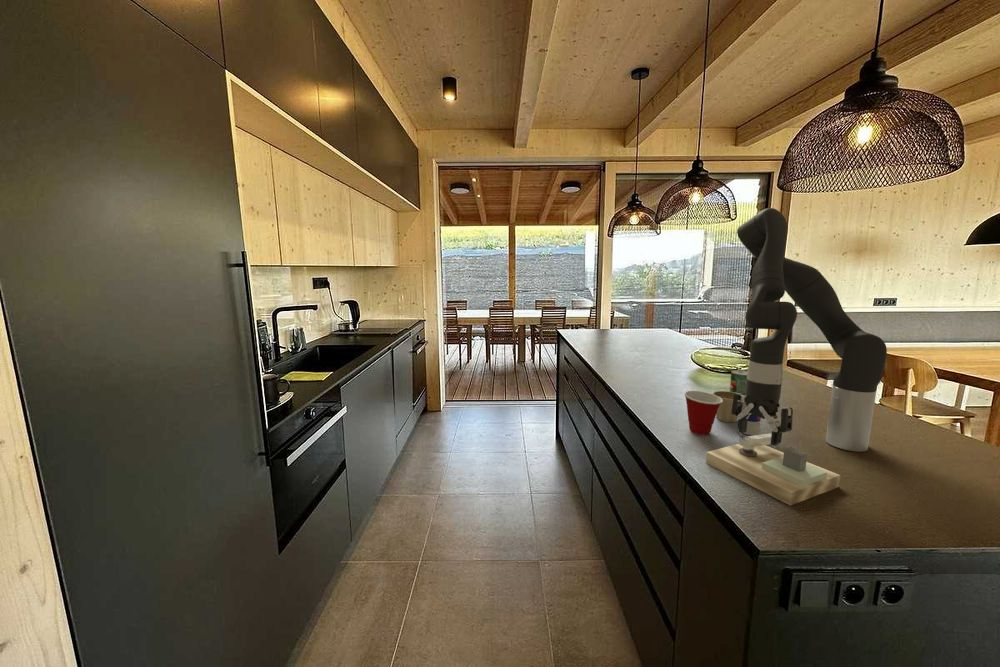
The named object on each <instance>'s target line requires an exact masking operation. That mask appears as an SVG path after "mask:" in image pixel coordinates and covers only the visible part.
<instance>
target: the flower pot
mask: <svg viewBox="0 0 1000 667" xmlns="http://www.w3.org/2000/svg"><path fill="white" fill-rule="evenodd" d="M712 394H714V395H716V396H718V397H720V398H721V399H723V402H722V403H721V404H720V406H719V408H718V410H717V413H716V416H715V419H718V420H719V421H721V422H726V423H736V422H738V417H737V416H736V415H733V414H732V413H731V412H732V405H733V398H734V395H735V394H738V393H735V392H730V390H729V391H727V390H717V391H713V392H712Z"/></svg>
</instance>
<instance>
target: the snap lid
mask: <svg viewBox="0 0 1000 667" xmlns="http://www.w3.org/2000/svg"><path fill="white" fill-rule="evenodd" d="M783 453H784V456H782V457H779V458H776V459H773V460H769V461H766V462H763V463H762V469H764V470H766V471H768V472H770V473H773V474H775V475H777V476H779V477H781V478H784V479H786V480H788V481H790V482H792V483H795V484H797V485H799V486H801V487H803V486H806V485H809V484H812V483H815V482H817V481H820V480H823V479H826V478H827V472H825V471H823V470H820V469H818V468H816V467H813V466H811V465H808V464H806V462H807V459H808V453H807V452H804V451H802V450H799V449H797V448H793V447H787V448H784V450H783Z"/></svg>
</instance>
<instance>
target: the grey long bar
mask: <svg viewBox="0 0 1000 667" xmlns="http://www.w3.org/2000/svg"><path fill="white" fill-rule="evenodd" d="M771 435H772V432H770V433H763V434H762V433H760V434H759V435H754V436H747V437H743V436H741V437H739V442H738V444H739V445H741V446H743V451H745V452H748V453H753V452H754V447H755V446H762V445H766V446H768V445H771Z"/></svg>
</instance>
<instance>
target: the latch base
mask: <svg viewBox="0 0 1000 667" xmlns="http://www.w3.org/2000/svg"><path fill="white" fill-rule="evenodd" d="M782 456H784V451H780V450H779V449H776V448H773V447H771V446H768V445H762V446H755V447H754V452H753V453H748V452H745V451H743V446H741V445H739V443H736V444H733V445H728V446H725V447H721V448H716V449H713V450H710V451H706V456H705V463H706V464H708V465H710V466H712V467H713V468H715V469H718V470H719V471H721V472H724V473H725V474H727V475H730V476H732V477H733V478H735V479H737V480H739V481H741V482H743V483H745V484H746V485H749V486H751V487H753V488H755V489H757V490H759V491H760V492H762V493H764V494H766V495H769V496H771V497H773V498H775V499H776V500H779V501H781V502H782V503H785V504H787V505H789V506H793V505H795V504H798V503H801V502H803V501H806V500H809V499H810V498H811V499H812V498H813V497H816V496H819V495H821V494H824V493H827V492H830V491H833V490H835V489H838V488H839V487H840V482H841V474H839V473H836V472H834V471H831V470H828V469H826V468H823V467H821V466H818V465H815V464H813V463H810V462H808V461H806V464H808V465H811V466H813V467H816V468H818V469H820V470H823V471H825V472H827V478H826V479H823V480H820V481H817V482H815V483H812V484H809V485H806V486H803V487H801V486H799V485H797V484H795V483H792V482H790V481H788V480H786V479H784V478H781V477H779V476H777V475H775V474H773V473H770V472H768V471H766V470H764V469H762V463H763V462H766V461H769V460H773V459H776V458H779V457H782Z"/></svg>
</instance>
